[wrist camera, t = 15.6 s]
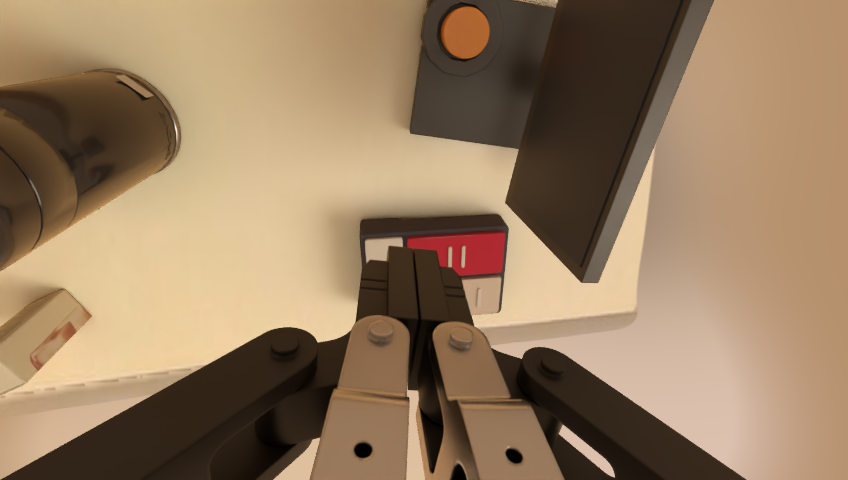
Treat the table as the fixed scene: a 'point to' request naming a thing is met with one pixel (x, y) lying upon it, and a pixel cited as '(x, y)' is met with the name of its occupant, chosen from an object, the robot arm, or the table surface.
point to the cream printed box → (37, 336)
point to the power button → (465, 32)
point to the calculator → (449, 250)
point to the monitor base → (481, 74)
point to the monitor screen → (598, 120)
